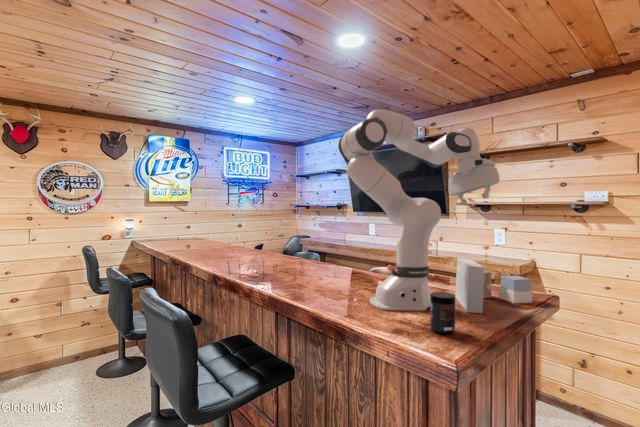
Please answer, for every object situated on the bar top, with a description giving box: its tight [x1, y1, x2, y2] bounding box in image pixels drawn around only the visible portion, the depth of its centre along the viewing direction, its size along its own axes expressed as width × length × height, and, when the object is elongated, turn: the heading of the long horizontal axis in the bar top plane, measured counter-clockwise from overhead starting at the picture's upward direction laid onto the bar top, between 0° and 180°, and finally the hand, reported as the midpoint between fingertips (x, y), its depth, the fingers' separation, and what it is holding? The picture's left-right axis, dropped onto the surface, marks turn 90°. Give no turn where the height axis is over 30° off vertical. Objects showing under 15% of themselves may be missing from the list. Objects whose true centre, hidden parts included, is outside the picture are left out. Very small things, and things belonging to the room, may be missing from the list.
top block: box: [500, 275, 532, 292], centre depth 129 cm, size 7×7×4 cm
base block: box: [498, 286, 533, 304], centre depth 129 cm, size 8×8×4 cm
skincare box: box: [454, 257, 485, 314], centre depth 122 cm, size 21×5×16 cm, turn 168°
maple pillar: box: [483, 270, 493, 299], centre depth 135 cm, size 5×5×10 cm
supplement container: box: [429, 291, 456, 336], centre depth 95 cm, size 7×7×10 cm
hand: (474, 201), depth 130 cm, fingers open, 8 cm apart
